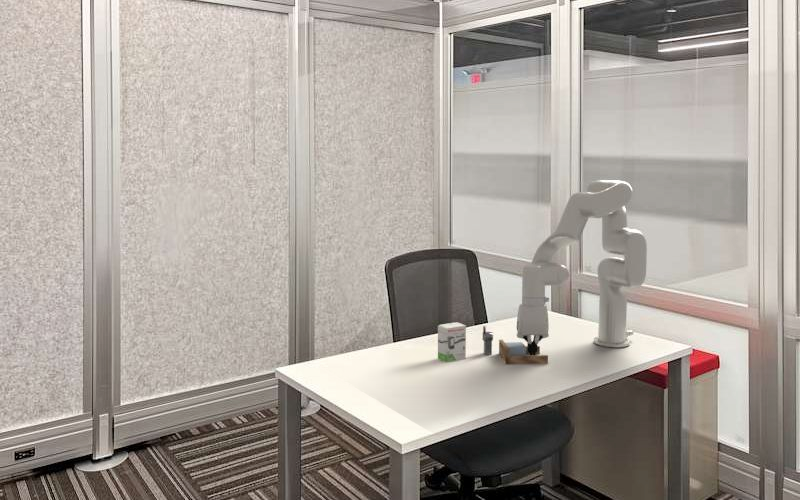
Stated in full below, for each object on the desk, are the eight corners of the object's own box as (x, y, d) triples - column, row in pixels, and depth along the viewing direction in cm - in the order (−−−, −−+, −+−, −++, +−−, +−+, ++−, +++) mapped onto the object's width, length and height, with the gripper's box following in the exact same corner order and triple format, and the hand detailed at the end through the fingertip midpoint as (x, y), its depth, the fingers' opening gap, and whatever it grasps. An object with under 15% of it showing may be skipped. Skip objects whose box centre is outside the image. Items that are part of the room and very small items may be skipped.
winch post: (491, 352, 234) (492, 324, 233) (493, 355, 231) (494, 327, 229) (481, 352, 234) (481, 325, 233) (483, 355, 230) (483, 327, 229)
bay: (538, 352, 233) (539, 338, 232) (547, 363, 221) (548, 348, 220) (498, 353, 232) (499, 339, 232) (505, 364, 221) (506, 349, 220)
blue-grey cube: (521, 356, 230) (521, 342, 229) (525, 361, 224) (526, 347, 223) (504, 356, 229) (504, 342, 229) (508, 362, 223) (508, 347, 223)
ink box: (445, 362, 223) (445, 328, 221) (437, 358, 227) (437, 325, 225) (466, 358, 227) (466, 324, 225) (457, 355, 231) (458, 321, 230)
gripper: (552, 298, 228) (551, 350, 231) (508, 299, 228) (508, 351, 230) (558, 303, 221) (556, 357, 223) (513, 304, 220) (512, 358, 223)
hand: (532, 354), depth 227 cm, fingers closed
